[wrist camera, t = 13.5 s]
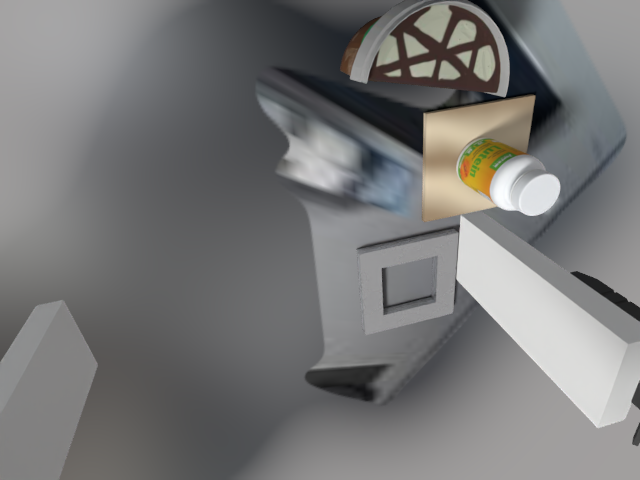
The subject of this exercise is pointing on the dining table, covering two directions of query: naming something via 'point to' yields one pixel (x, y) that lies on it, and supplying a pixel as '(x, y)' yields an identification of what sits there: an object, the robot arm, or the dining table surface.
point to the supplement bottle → (507, 177)
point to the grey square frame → (401, 252)
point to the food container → (431, 48)
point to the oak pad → (453, 136)
